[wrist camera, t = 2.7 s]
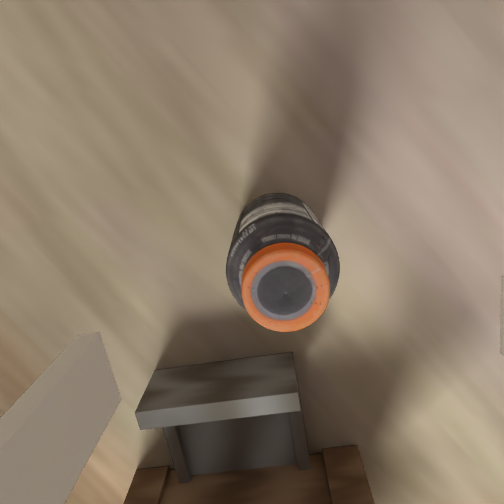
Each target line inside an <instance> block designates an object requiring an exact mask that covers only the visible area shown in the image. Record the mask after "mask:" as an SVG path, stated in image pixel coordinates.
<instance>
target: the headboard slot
mask: <svg viewBox="0 0 504 504" xmlns="http://www.w3.org/2000/svg"><path fill="white" fill-rule="evenodd" d="M135 415H136V418H137V421H138V424H139V427H140V430H144V429H152V428H160V427H163V430H164V433H165V436H166V440H167V443H168V447H169V450H170V453H171V457H172V460H173V464H174V467H175V470H169V467H168V466H165V467H156V468H147V469H138V470H136V472H135V475H134V478H133V480H132V483H131V485H130V488H129V491H128V493H127V496H126V498H125V501H124V504H374V501H373V497H372V494H371V491H370V487H369V484H368V481H367V477H366V474H365V471H364V467H363V464H362V461H361V457H360V454H359V451H358V447H357V445H353V446H344V447H335V448H326V449H323V453H322V454H313V455H309V452H308V446H307V440H306V433H305V427H304V421H303V415H302V408H301V402H300V396H299V390H298V383H297V377H296V371H295V365H294V359H293V352H289V353H281V354H274V355H266V356H259V357H251V358H243V359H236V360H228V361H221V362H213V363H206V364H198V365H191V366H183V367H176V368H168V369H161V370H155V371H154V373H153V375H152V377H151V379H150V381H149V384H148V386H147V388H146V390H145V392H144V394H143V396H142V399H141V401H140V403H139V405H138V407H137V409H136V411H135Z"/></svg>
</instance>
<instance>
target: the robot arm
mask: <svg viewBox="0 0 504 504" xmlns="http://www.w3.org/2000/svg"><path fill="white" fill-rule="evenodd" d="M500 353H501V354H502V355H503V356H504V276H502V290H501V329H500ZM120 401H121V396H120V393H119V390H118V387H117V384H116V381H115V378H114V375H113V372H112V369H111V366H110V363H109V360H108V357H107V353H106V350H105V347H104V344H103V341H102V338H101V335H100V332H96V333H89V334H82V335H78V336H77V337H76V338H75V339H74V340H73V341H72V342H71V343H70V344H69V345H68V346H67V347H66V349H65V350H64V351H63V352H62V353H61V354H60V355H59V356H58V357H57V358H56V359H55V360H54V361H53V362H52V363H51V365H50V366H49V367H48V368H47V369H46V370H45V371H44V372H43V373H42V374H41V375H40V376H39V377H38V378H37V380H36V381H35V382H34V383H33V384H32V385H31V386H30V387H29V388H28V389H27V390H26V391H25V392H24V393H23V394H22V396H21V397H20V398H19V399H18V400H17V401H16V402H15V403H14V404H13V405H12V406H11V407H10V408H9V409H8V410H7V412H6V413H5V414H4V415H3V416H2V417H1V418H0V504H64V503H65V501H66V499H67V498H68V496H69V494H70V492H71V490H72V488H73V487H74V485H75V483H76V481H77V479H78V477H79V476H80V474H81V472H82V470H83V468H84V467H85V465H86V463H87V461H88V459H89V457H90V456H91V454H92V452H93V450H94V448H95V446H96V445H97V443H98V441H99V439H100V437H101V435H102V434H103V432H104V430H105V428H106V426H107V425H108V423H109V421H110V419H111V417H112V415H113V414H114V412H115V410H116V408H117V406H118V404H119V403H120Z"/></svg>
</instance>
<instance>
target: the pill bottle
mask: <svg viewBox="0 0 504 504" xmlns="http://www.w3.org/2000/svg"><path fill="white" fill-rule="evenodd" d="M339 272H340V264H339V257H338V253H337V250H336V247H335V245H334V243H333V241H332V240H331V238H330V236H329V235H328V233H327V232H326V231H325V229H324V228H323V226H322V225H321V223H320V222H319V221H318V219H317V218H316V216H315V215H314V214H313V212H312V211H311V209H310V208H309V207H308V206H307V205H306V204H305V203H304V202H303V201H301V200H300V199H298V198H297V197H295V196H292V195H289V194H285V193H271V194H266V195H263V196H261V197H258V198H257V199H255V200H253V201H252V202H251V203H250V204H249V205H248V206H247V207H246V208H245V209H244V210H243V212H242V213H241V215H240V217H239V220H238V222H237V225H236V228H235V231H234V235H233V238H232V242H231V246H230V249H229V253H228V257H227V263H226V276H227V281H228V285H229V288H230V290H231V292H232V294H233V296H234V298H235V299H236V300H237V302H238V303H239V304H240V305H241V306H242V307H243V308H244V309H245V310H246V311H247V312H248V313H249V314H250V316H251V317H252V318H253V319H254V320H255V321H256V322H257V323H259V324H260V325H262V326H264V327H265V328H268V329H271V330H274V331H279V332H289V331H297V330H300V329H302V328H305V327H307V326H309V325H311V324H312V323H313V322H315V321H316V320H317V319H318V318H319V317H320V316H321V314H322V313H323V312H324V310H325V309H326V306H327V304H328V301H329V299H330V298H331V296H332V294H333V293H334V291H335V288H336V286H337V283H338V279H339Z"/></svg>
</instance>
